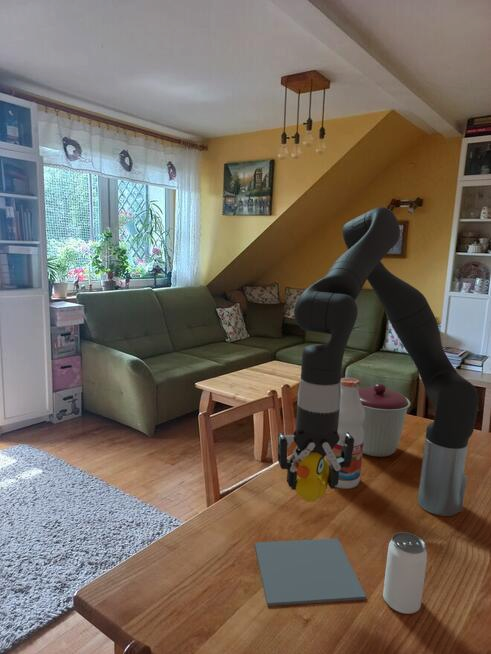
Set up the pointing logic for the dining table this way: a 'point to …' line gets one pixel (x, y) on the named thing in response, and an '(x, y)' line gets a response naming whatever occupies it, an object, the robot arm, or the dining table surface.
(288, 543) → the mat
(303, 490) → the duckling
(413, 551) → the can
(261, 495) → the dining table surface
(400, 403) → the canister
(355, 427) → the fruit juice
